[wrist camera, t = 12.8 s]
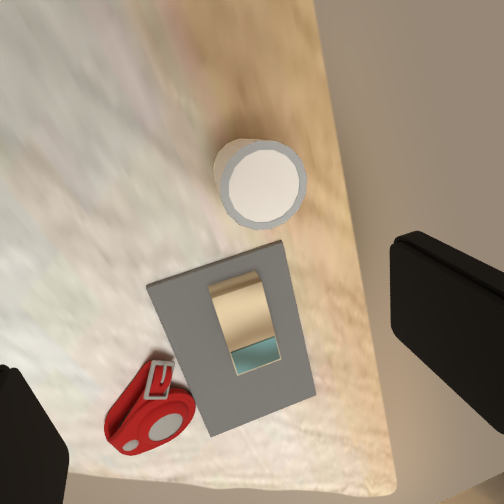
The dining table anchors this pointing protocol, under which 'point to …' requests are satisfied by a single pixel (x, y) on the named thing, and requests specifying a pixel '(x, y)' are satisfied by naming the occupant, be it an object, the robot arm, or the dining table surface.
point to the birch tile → (245, 321)
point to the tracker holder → (149, 411)
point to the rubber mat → (215, 347)
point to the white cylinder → (259, 182)
